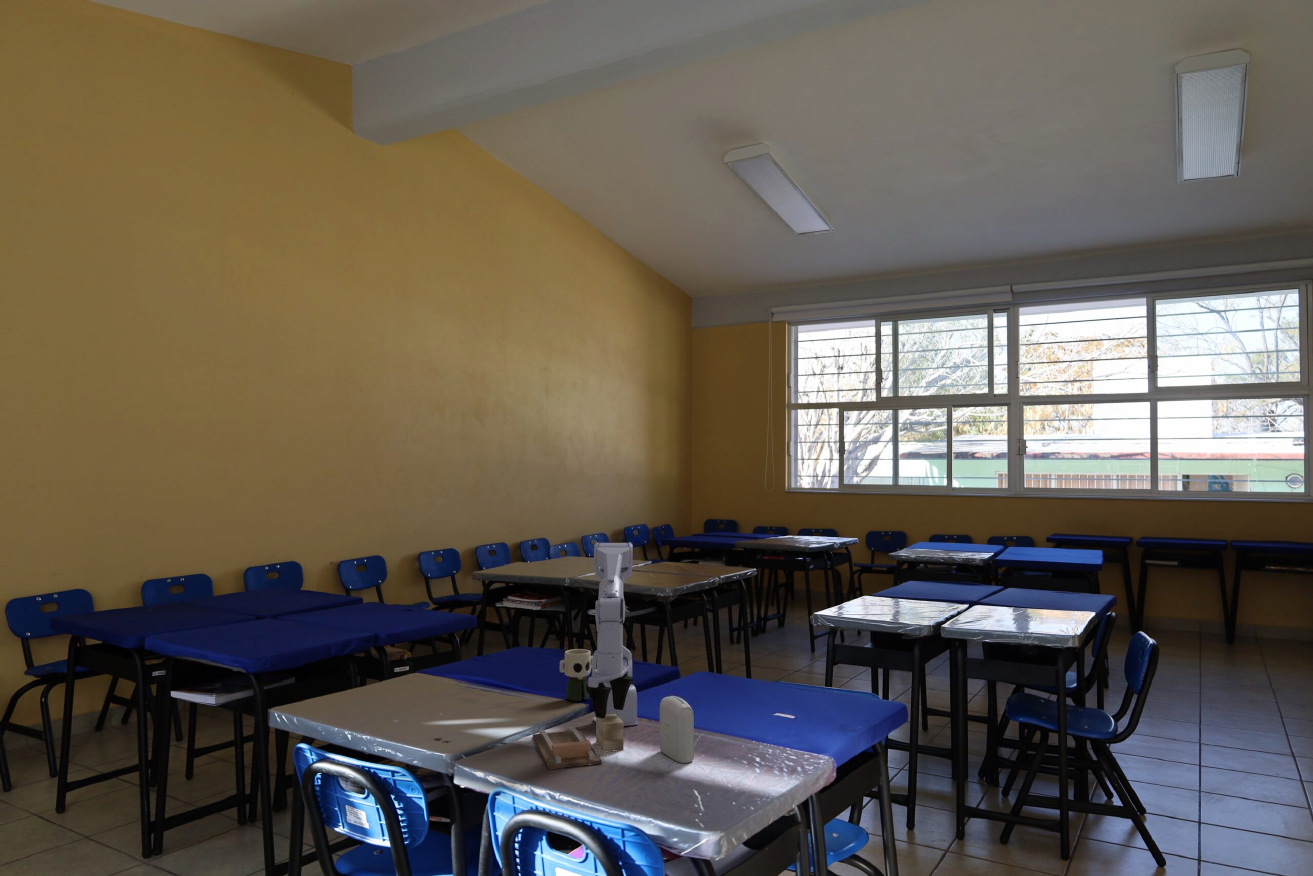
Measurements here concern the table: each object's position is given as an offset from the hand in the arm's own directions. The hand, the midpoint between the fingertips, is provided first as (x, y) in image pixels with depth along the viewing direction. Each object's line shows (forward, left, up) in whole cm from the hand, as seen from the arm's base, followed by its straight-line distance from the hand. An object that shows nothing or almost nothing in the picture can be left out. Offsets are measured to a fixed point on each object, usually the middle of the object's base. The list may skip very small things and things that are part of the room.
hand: (609, 713), depth 179 cm
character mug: (-1, -41, -7) cm, 42 cm away
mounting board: (+10, 0, -7) cm, 12 cm away
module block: (0, 0, -7) cm, 7 cm away
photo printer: (-12, +11, -7) cm, 18 cm away
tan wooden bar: (+10, +6, -7) cm, 14 cm away
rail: (+10, 0, -7) cm, 12 cm away
